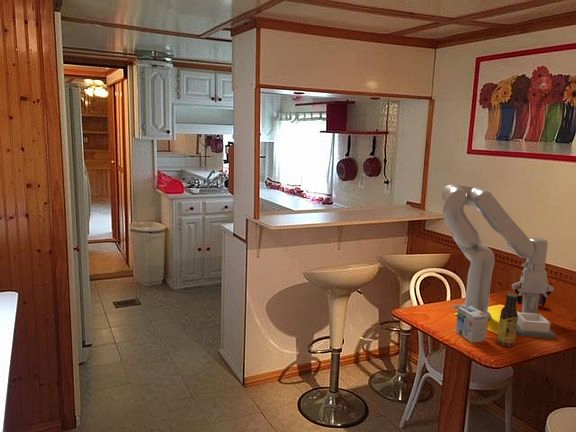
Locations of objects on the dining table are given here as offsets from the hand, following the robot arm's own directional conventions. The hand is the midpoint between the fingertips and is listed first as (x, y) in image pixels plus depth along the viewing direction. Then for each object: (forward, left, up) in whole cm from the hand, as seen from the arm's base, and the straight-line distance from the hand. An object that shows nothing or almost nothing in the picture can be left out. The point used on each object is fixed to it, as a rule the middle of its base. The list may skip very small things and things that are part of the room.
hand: (530, 304), depth 220 cm
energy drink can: (0, 0, -7) cm, 7 cm away
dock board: (-4, -14, -6) cm, 16 cm away
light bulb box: (-31, -25, -7) cm, 40 cm away
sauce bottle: (-19, -30, -7) cm, 36 cm away
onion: (+9, +17, -7) cm, 20 cm away
